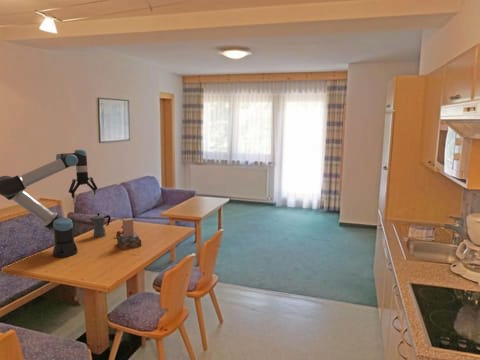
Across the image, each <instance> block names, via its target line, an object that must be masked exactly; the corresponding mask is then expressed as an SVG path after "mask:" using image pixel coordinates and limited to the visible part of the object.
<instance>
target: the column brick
mask: <svg viewBox="0 0 480 360" xmlns="http://www.w3.org/2000/svg"><path fill="white" fill-rule="evenodd" d="M122 225H123V229H122V231H123V234H124V236H125V237H130V236H134V219H133V218H132V217H128V218H122Z"/></svg>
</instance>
